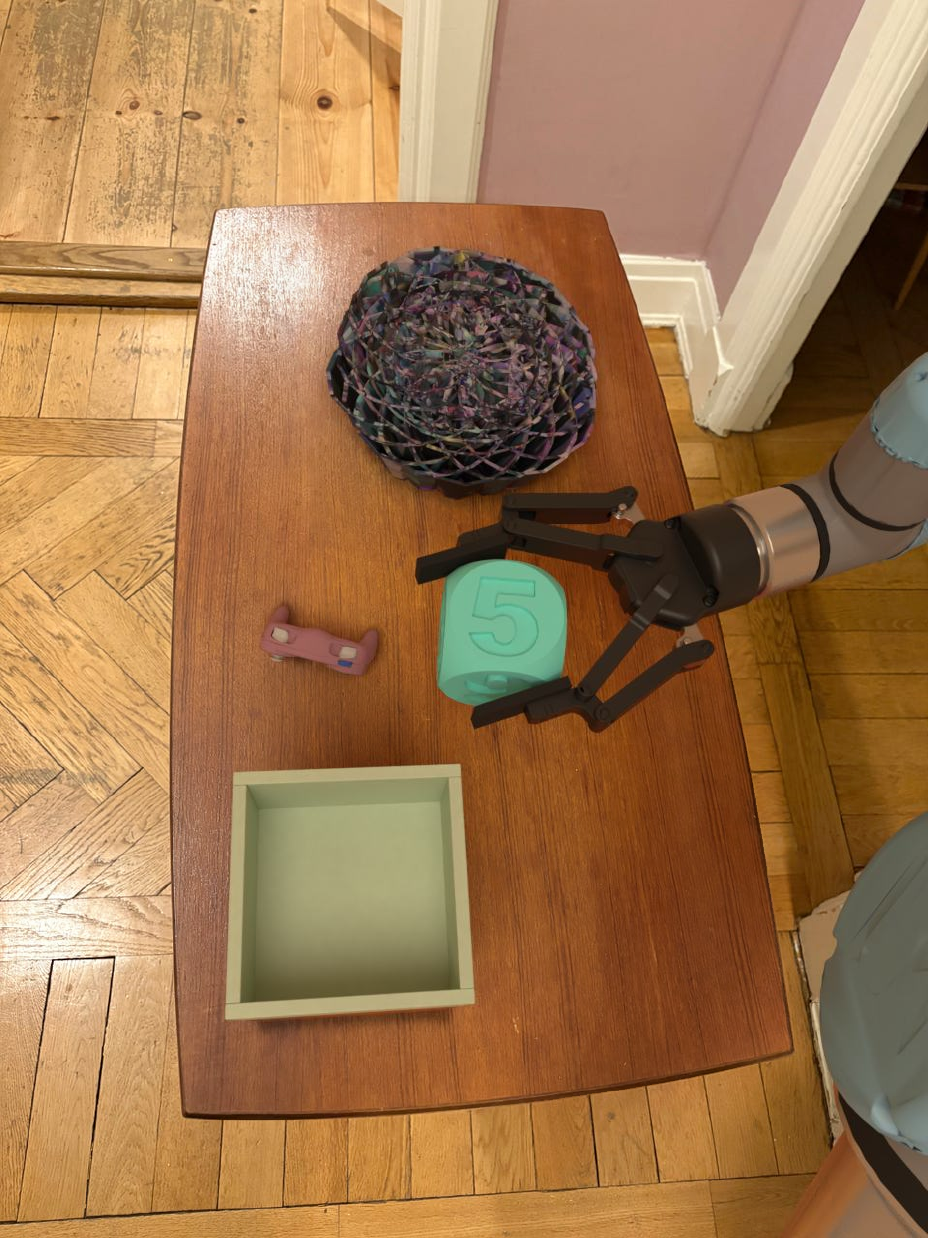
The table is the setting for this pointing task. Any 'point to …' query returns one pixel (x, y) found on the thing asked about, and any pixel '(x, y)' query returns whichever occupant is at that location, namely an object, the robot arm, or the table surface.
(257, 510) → the table surface
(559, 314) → the decorative bowl
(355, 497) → the table surface
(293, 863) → the bin
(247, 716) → the table surface
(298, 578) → the table surface
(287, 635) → the video game controller
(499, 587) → the decorative dice
